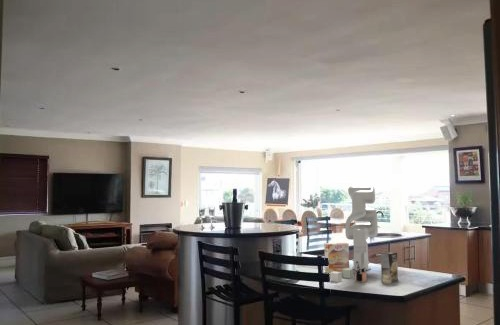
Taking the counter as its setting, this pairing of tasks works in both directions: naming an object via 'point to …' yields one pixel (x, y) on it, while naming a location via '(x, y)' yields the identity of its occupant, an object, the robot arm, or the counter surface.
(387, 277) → the birch cylinder
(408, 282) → the counter surface
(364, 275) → the terracotta block
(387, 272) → the coffee box
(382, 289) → the counter surface
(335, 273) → the off-white block
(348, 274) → the sage block
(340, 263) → the coffeecake box
